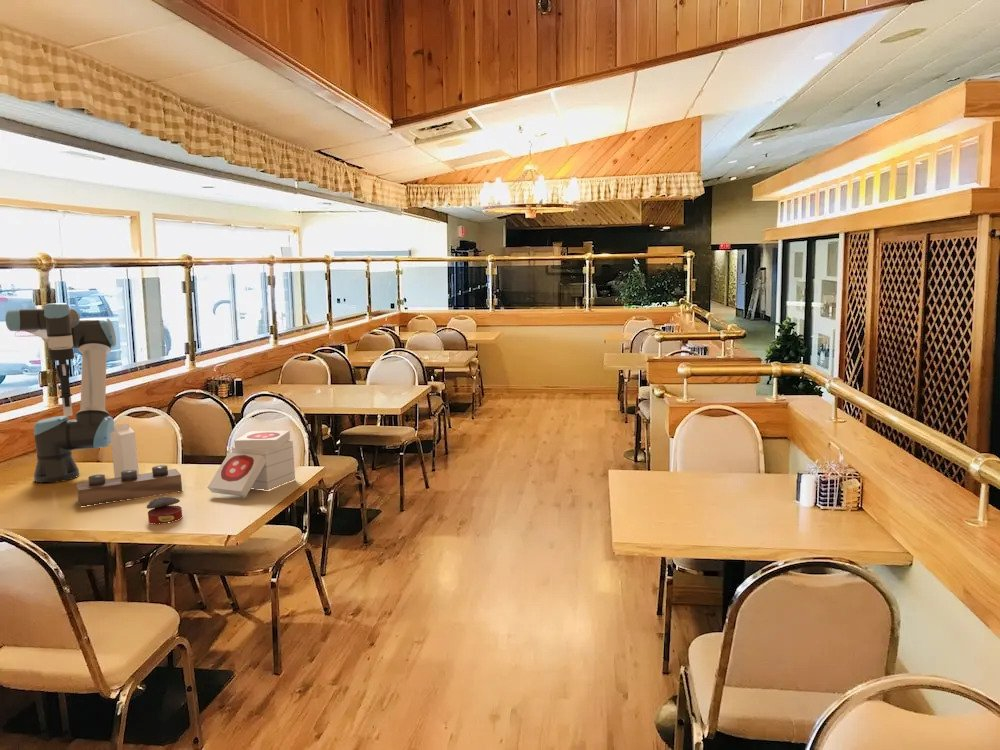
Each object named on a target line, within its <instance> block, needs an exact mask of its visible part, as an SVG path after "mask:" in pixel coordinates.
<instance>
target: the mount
mask: <svg viewBox="0 0 1000 750" xmlns="http://www.w3.org/2000/svg"><path fill="white" fill-rule="evenodd" d="M182 484H183V483H182V474H181V473H180V472H179V471H178V470H177V468H173V469H172V468H171V469H168V473H167V474H165V475H160V476H155V475H153V473H152V472H145V473H139V474H138V475H137V478H136V479H133V480H127V481H126V480H122V479H121V477H118V478H115V477H112V478H105V483H104V484H101V485H95V486H94V485H89V481H85V482H79V483H78V482H77V483H76V490H77V499H78V504H79V508H80V507H81V506H87V505H94V504H99V503H106V502H113V501H119V502H121V501H120V500H125V501H128V500H127V499H131V500H136V499H135V498H137V499H142V497H144V498H150V497H155V496H154V495H156V496H160V494H162V495H167V494H166V493H168V494H173V493H172V492H174V493H179V492H178V491H180V492H183V486H182ZM149 496H150V497H149ZM113 503H114V502H113Z"/></svg>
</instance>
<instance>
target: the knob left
mask: <svg viewBox="0 0 1000 750" xmlns="http://www.w3.org/2000/svg"><path fill="white" fill-rule="evenodd" d="M105 479H106V475H105V474H94V475H89V476H88V482H89V485H94V486H95V485H101V484H104V483H105Z"/></svg>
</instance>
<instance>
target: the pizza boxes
mask: <svg viewBox="0 0 1000 750" xmlns="http://www.w3.org/2000/svg"><path fill="white" fill-rule="evenodd" d="M231 451H232V452H228V453H227V455H226V456H225V458H224V460H223V462H222V463H221V464H220V466H219V468H218V469H217V471H216V472H215V473H214V476H213V477H212V479H211V480H210V482H209V484H208V485H207V488H208V489H209V491H210V492H211V493H213V494H223V495H230V496H237V497H238V496H239V497H247V496H248V494H249V492H250V491H251V490H250V489H251V488H254V489H264V490H269V489H272V488H274V487H277V486H279V485H282V484H284V483H286V482H289V481H292V480H294V479H295V480H296V473H295V472H296V470H295V457H294V441H293V440H291V433H290V430H250V431H248V432H246V433H245V434H243V435H241V436H240V437H238V438H237V439H234V446H233V447H231Z"/></svg>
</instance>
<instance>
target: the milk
mask: <svg viewBox="0 0 1000 750" xmlns="http://www.w3.org/2000/svg"><path fill="white" fill-rule="evenodd" d="M110 436H111V443H110V445H111V455H112V456H111V457H112V464H113V473H114V478H118V477H121V472H122V471H125V470H137V475H138V474H140V473H139V472H140V471H139V462H138V461H139V459H138V451H137V440H136V432H135V431H134V429H133V428H131V426H130V423H129V422H127V423H122V424H118V425H114V431H113V432H112V433H111V434H110Z"/></svg>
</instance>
